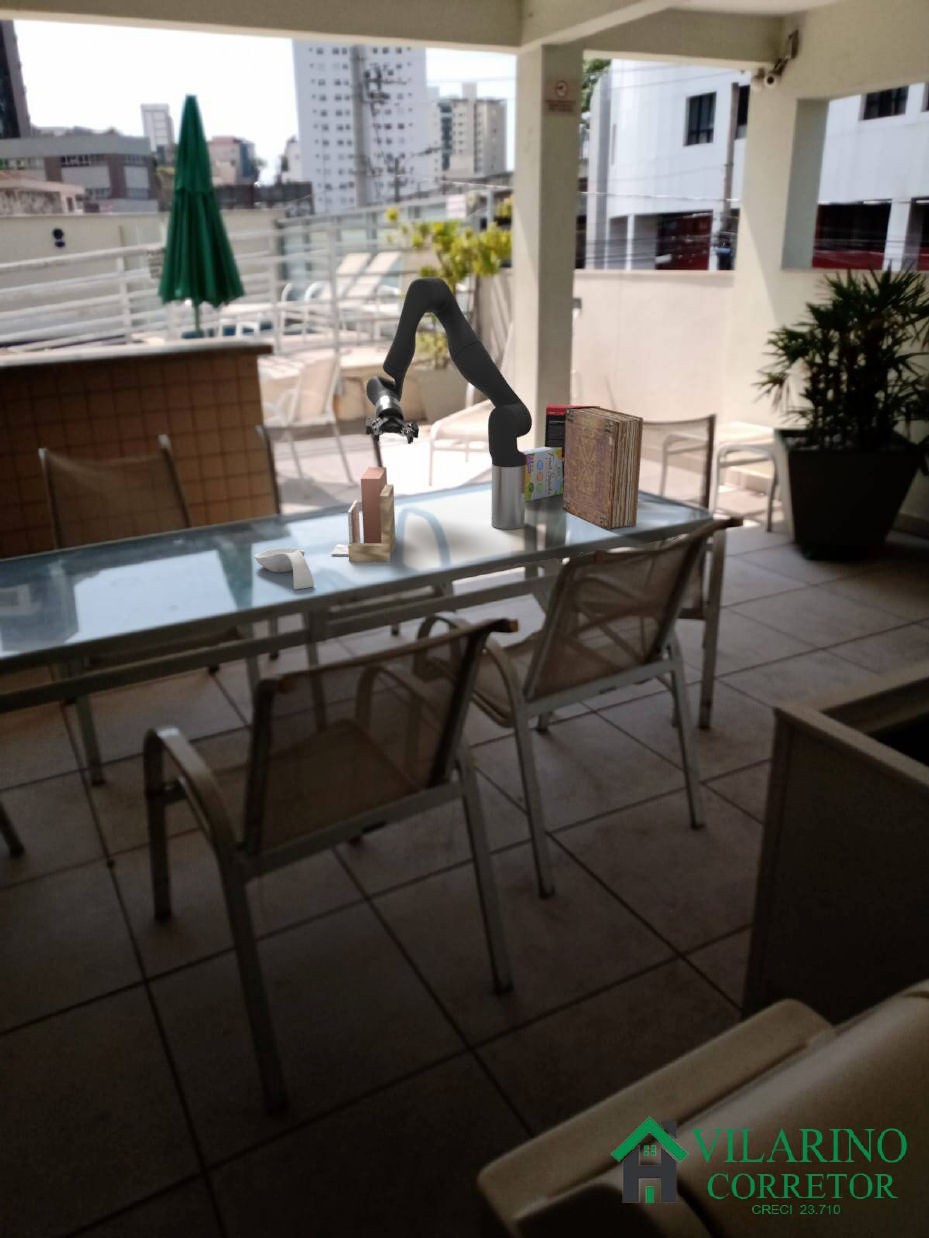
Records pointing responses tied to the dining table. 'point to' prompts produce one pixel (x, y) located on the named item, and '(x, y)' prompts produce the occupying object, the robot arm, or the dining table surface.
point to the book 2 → (602, 466)
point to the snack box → (543, 472)
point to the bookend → (350, 530)
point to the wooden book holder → (387, 533)
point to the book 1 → (372, 502)
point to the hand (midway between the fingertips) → (394, 439)
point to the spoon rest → (287, 564)
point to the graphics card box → (556, 428)
